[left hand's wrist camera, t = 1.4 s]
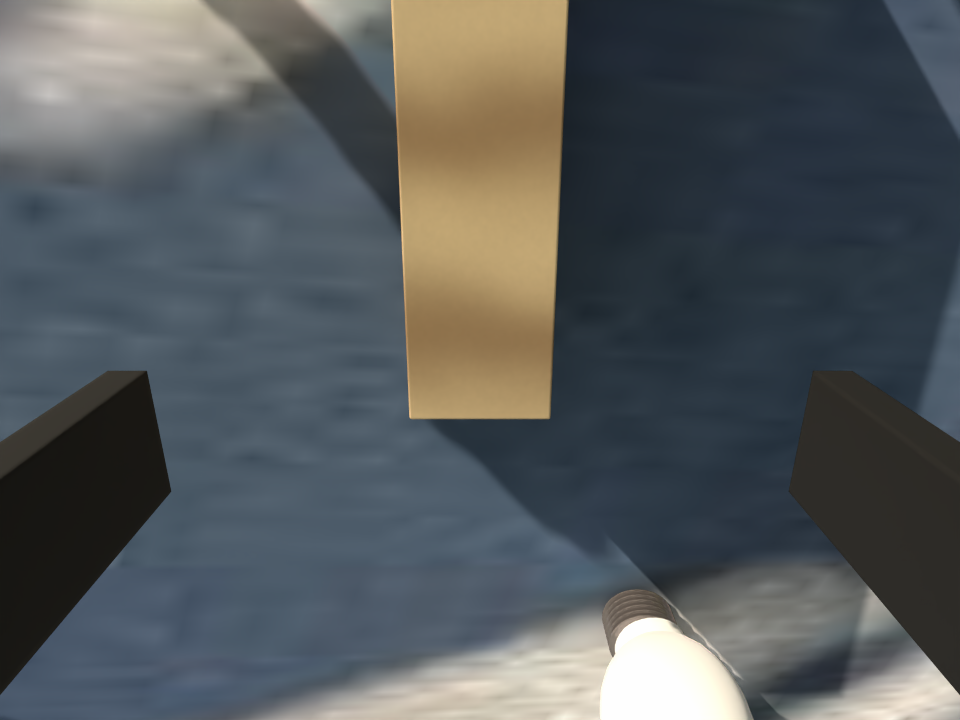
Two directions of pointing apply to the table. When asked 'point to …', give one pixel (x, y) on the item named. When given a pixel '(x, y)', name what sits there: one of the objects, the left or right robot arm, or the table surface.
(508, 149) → the oak beam
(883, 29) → the table surface
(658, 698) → the light bulb
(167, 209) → the table surface
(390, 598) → the table surface
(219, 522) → the table surface
